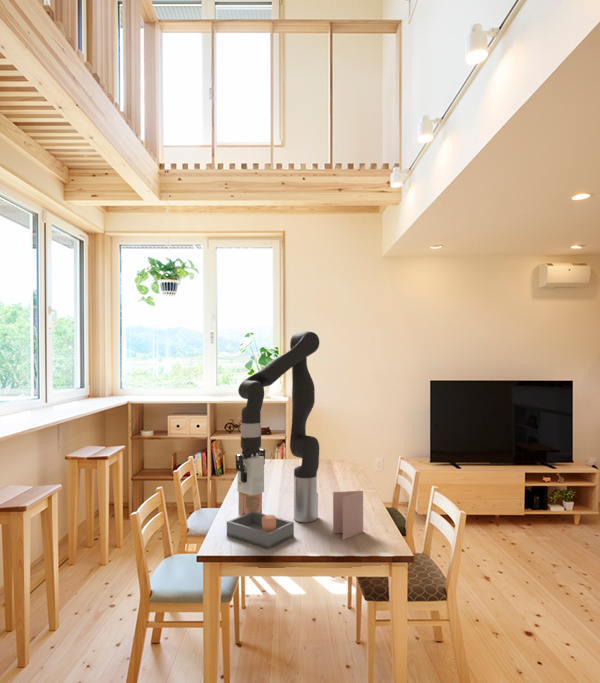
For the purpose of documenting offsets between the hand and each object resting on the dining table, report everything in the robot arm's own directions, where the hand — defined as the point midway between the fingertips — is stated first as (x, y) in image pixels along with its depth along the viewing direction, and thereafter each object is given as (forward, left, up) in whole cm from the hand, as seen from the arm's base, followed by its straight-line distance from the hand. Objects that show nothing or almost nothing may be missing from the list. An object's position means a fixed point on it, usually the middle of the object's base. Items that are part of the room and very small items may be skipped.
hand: (250, 480), depth 166 cm
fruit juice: (-12, -11, -20) cm, 26 cm away
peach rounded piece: (0, +9, -18) cm, 21 cm away
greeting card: (-21, +30, -20) cm, 42 cm away
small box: (0, 0, -5) cm, 5 cm away
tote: (-1, +4, -20) cm, 20 cm away
